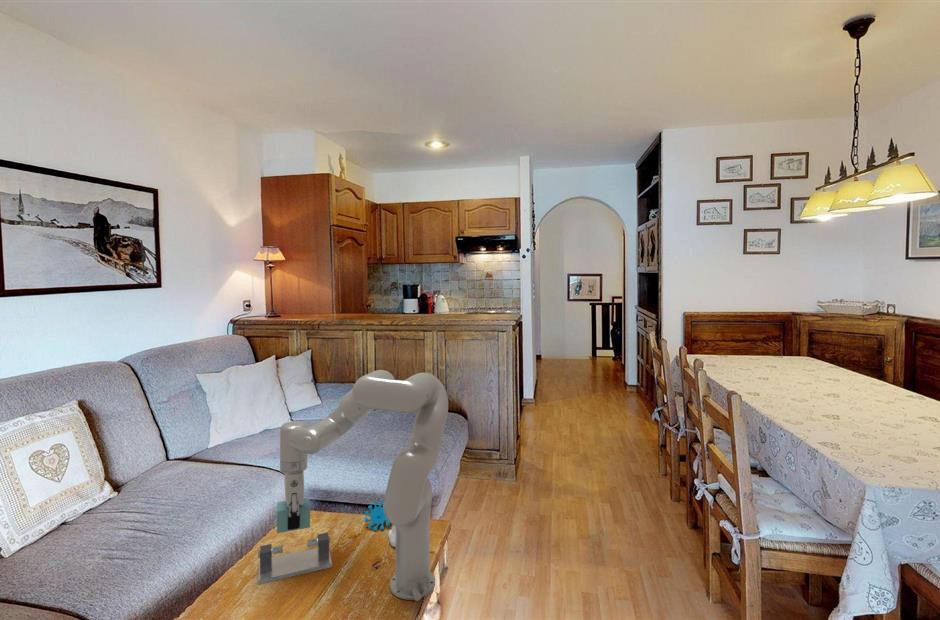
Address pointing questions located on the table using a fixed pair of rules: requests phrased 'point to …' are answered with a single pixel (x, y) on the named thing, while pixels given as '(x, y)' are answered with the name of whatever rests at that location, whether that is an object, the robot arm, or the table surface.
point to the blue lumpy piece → (377, 516)
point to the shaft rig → (293, 560)
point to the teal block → (284, 513)
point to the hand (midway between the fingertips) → (293, 522)
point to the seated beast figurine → (392, 536)
